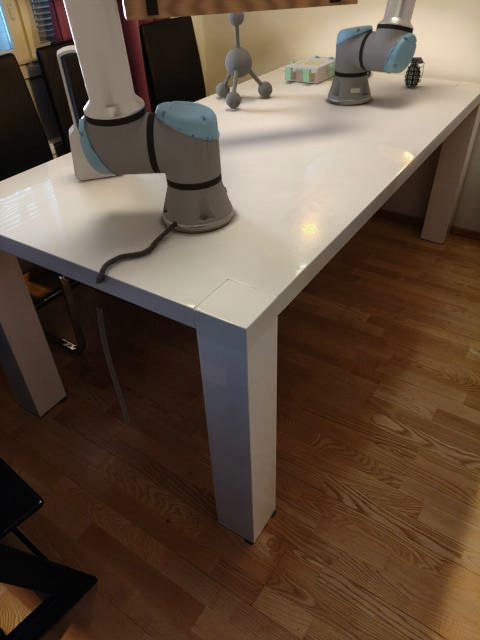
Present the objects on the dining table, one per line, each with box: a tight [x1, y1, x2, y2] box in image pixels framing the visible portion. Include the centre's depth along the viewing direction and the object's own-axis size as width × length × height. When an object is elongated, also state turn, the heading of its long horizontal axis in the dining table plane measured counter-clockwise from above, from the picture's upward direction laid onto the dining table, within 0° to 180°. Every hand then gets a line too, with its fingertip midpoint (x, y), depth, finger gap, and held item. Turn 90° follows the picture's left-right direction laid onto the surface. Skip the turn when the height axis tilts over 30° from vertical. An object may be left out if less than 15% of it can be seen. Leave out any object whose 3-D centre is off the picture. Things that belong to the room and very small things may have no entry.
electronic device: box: [56, 44, 117, 181], centre depth 122 cm, size 12×8×30 cm, turn 105°
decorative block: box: [284, 55, 335, 84], centre depth 206 cm, size 26×6×20 cm
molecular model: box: [215, 12, 273, 109], centre depth 175 cm, size 24×22×30 cm
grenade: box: [404, 56, 426, 89], centre depth 185 cm, size 7×6×10 cm
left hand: (151, 13), depth 122 cm, fingers closed on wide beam, 10 cm apart
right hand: (327, 0), depth 130 cm, fingers closed on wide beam, 10 cm apart
